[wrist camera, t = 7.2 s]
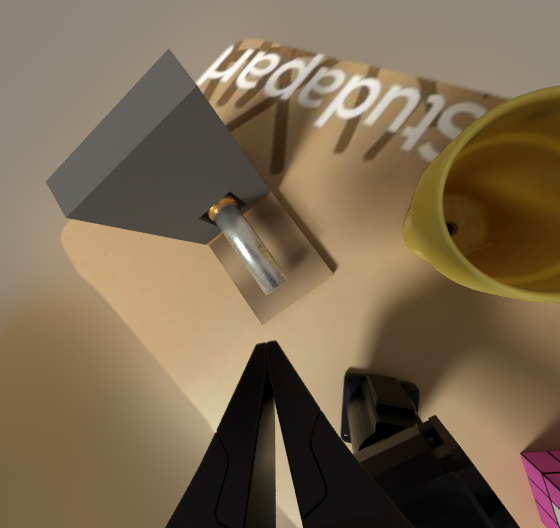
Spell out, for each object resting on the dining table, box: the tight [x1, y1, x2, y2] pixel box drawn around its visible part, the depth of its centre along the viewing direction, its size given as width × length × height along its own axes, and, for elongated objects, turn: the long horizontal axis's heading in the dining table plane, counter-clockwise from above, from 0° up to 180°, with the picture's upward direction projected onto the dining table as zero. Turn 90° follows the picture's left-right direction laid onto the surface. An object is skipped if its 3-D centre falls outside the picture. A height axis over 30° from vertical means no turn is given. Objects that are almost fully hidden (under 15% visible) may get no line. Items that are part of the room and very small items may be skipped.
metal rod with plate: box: [206, 192, 289, 295], centre depth 18 cm, size 16×7×8 cm, turn 36°
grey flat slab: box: [46, 49, 271, 245], centre depth 16 cm, size 2×9×12 cm, turn 126°
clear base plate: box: [208, 192, 334, 325], centre depth 23 cm, size 18×9×1 cm, turn 36°
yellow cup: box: [403, 86, 560, 303], centre depth 14 cm, size 10×10×10 cm
